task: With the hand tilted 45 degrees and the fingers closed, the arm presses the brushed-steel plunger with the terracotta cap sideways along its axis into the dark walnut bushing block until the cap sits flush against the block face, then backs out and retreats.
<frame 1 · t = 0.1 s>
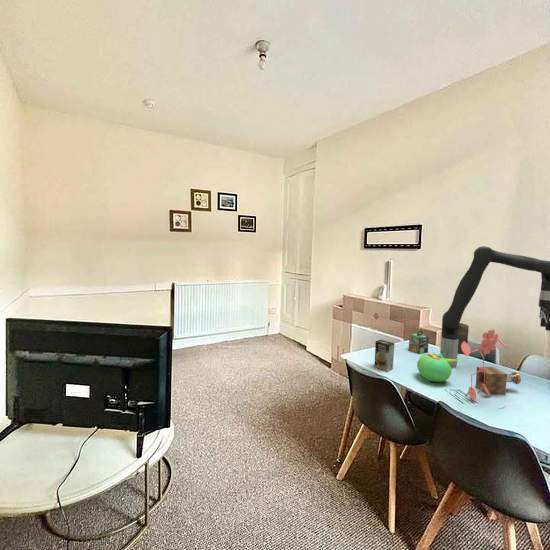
hand: (545, 328, 171), 29 cm above the table, tool pointing down, fingers open, 8 cm apart
bushing block: (489, 390, 161), on the table
green rounded lump: (434, 379, 173), on the table
pink flower sprig: (485, 401, 150), on the table
coffee box: (383, 368, 188), on the table
plunger peg: (505, 378, 160), point 6 cm above the table, slide at 0.0 cm
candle: (460, 352, 217), on the table
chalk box: (418, 351, 219), on the table
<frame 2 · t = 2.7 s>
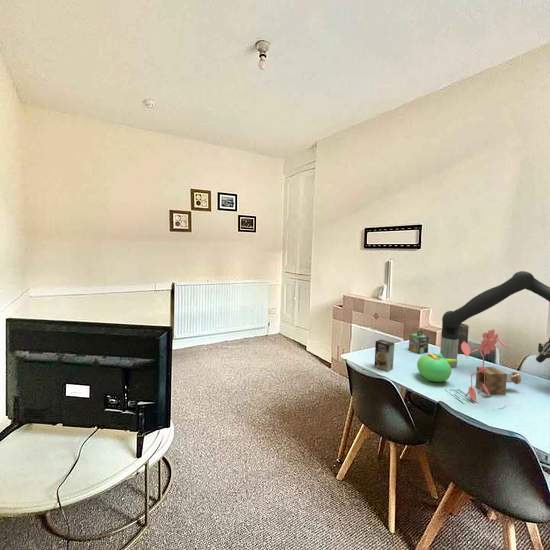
hand: (537, 361, 160), 15 cm above the table, tool tilted 45°, fingers closed
nothing on the table moved.
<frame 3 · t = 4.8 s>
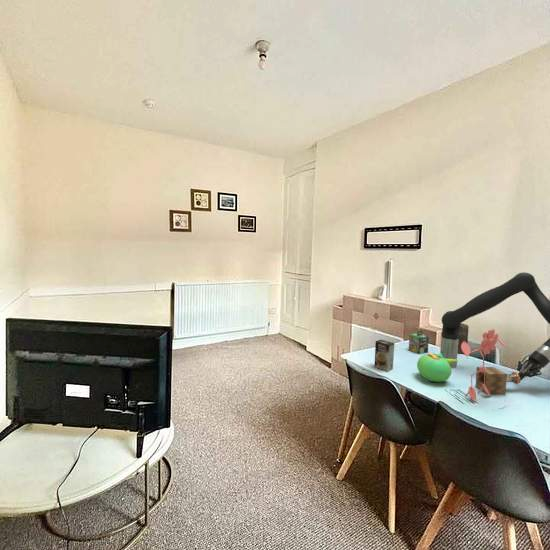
hand: (516, 379, 161), 6 cm above the table, tool tilted 45°, fingers closed
plunger peg: (504, 378, 160), point 6 cm above the table, slide at 0.2 cm, touching gripper
everything else where it was.
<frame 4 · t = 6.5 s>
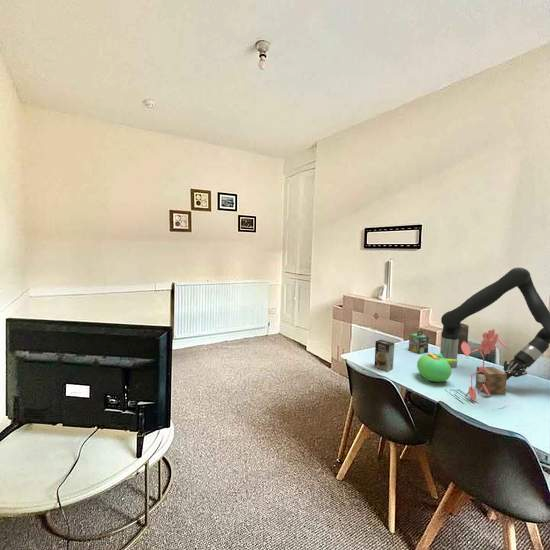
hand: (502, 379, 160), 6 cm above the table, tool tilted 45°, fingers closed
plunger peg: (490, 378, 160), point 6 cm above the table, slide at 7.6 cm, touching gripper
everything else where it was.
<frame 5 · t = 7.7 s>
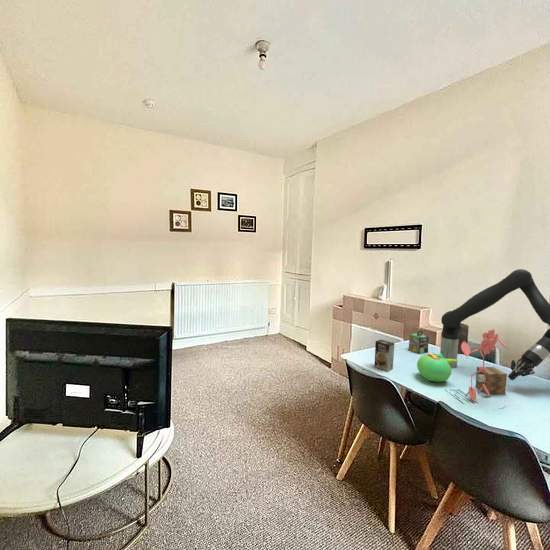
hand: (510, 378, 160), 6 cm above the table, tool tilted 45°, fingers closed
plunger peg: (490, 378, 160), point 7 cm above the table, slide at 7.5 cm
everything else where it was.
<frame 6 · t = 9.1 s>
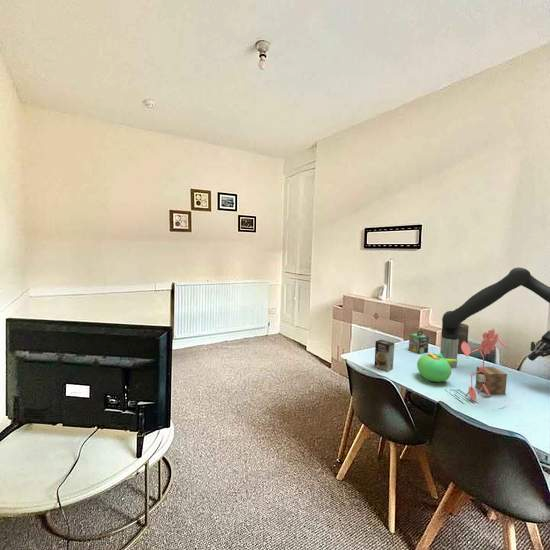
hand: (529, 359, 162), 16 cm above the table, tool tilted 45°, fingers closed
nothing on the table moved.
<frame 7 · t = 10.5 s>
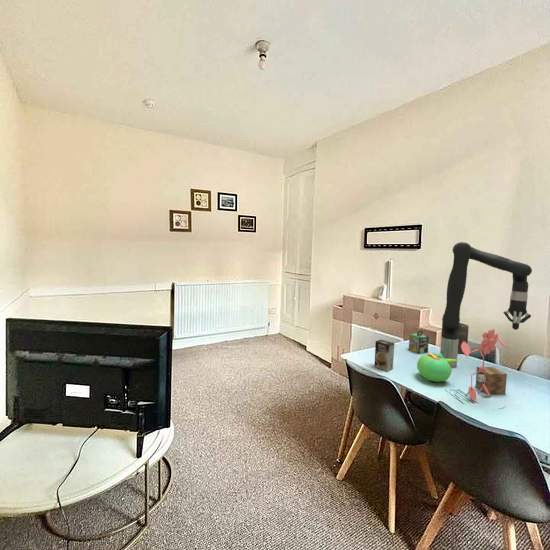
hand: (515, 329, 179), 26 cm above the table, tool pointing down, fingers closed
nothing on the table moved.
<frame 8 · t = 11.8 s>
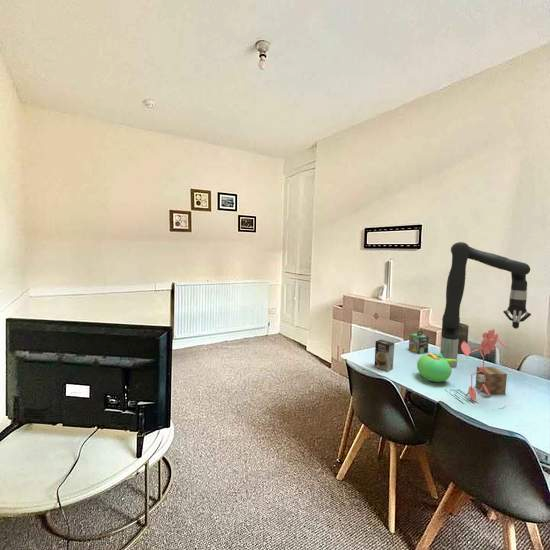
hand: (515, 328, 178), 27 cm above the table, tool pointing down, fingers closed
nothing on the table moved.
at the end: plunger peg slide at 7.5 cm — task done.
